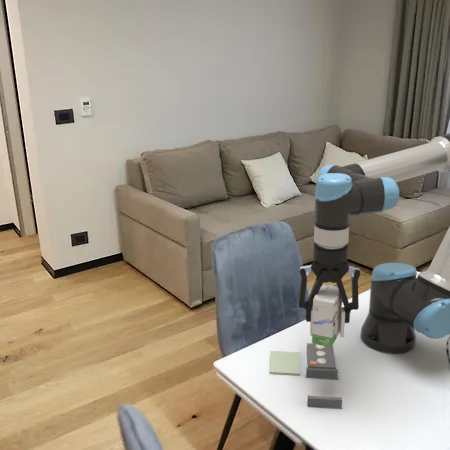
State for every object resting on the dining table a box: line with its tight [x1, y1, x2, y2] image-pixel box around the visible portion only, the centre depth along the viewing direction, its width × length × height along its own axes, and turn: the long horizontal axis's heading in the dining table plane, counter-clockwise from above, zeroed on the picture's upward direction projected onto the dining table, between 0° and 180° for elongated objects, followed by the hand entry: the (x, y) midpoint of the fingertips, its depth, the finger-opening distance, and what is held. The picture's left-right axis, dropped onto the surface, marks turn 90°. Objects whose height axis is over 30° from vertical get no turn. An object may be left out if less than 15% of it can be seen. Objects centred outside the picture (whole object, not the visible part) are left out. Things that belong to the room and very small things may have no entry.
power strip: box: [305, 342, 343, 410], centre depth 135 cm, size 8×28×4 cm, turn 173°
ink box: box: [311, 284, 343, 347], centre depth 121 cm, size 8×5×12 cm, turn 153°
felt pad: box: [268, 350, 301, 377], centre depth 139 cm, size 8×10×1 cm
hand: (326, 333), depth 123 cm, fingers closed on ink box, 6 cm apart
